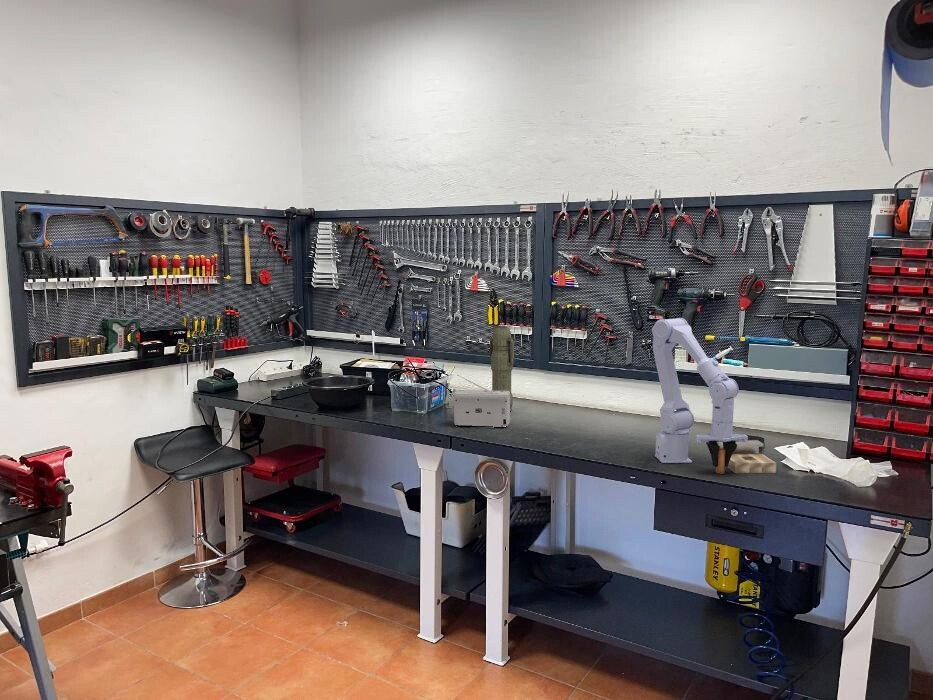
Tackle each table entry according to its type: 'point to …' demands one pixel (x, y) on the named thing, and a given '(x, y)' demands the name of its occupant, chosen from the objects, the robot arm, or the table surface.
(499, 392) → the stereo radio cassette player
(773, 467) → the socket block
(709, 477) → the table surface
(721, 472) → the peg
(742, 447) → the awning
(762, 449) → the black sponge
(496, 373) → the olive green jumpsuit
